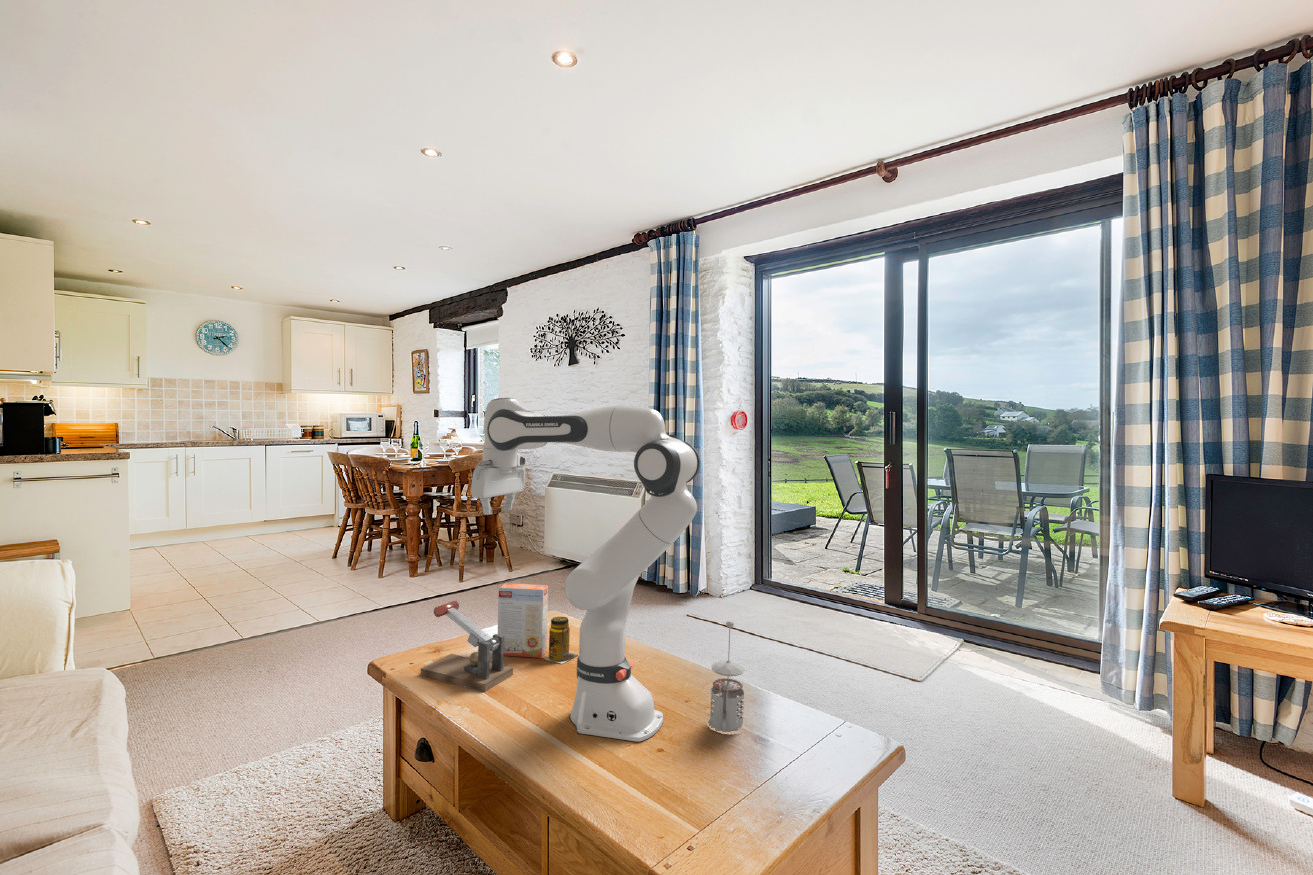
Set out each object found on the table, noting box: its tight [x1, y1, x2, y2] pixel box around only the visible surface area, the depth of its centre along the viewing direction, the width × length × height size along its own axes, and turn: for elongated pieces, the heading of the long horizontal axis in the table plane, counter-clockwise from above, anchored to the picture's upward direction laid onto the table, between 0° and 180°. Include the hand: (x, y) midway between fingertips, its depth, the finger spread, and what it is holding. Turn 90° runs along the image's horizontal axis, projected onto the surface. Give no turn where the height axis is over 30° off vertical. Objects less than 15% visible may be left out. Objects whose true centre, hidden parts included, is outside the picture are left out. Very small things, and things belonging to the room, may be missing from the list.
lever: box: [433, 600, 501, 653], centre depth 165 cm, size 20×7×4 cm, turn 67°
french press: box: [707, 620, 746, 732], centre depth 141 cm, size 10×12×25 cm
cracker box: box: [497, 582, 549, 659], centre depth 182 cm, size 14×6×21 cm, turn 84°
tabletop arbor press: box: [420, 633, 514, 692], centre depth 165 cm, size 22×12×12 cm, turn 67°
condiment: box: [543, 616, 579, 665], centre depth 180 cm, size 7×8×12 cm
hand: (497, 512), depth 157 cm, fingers open, 8 cm apart
